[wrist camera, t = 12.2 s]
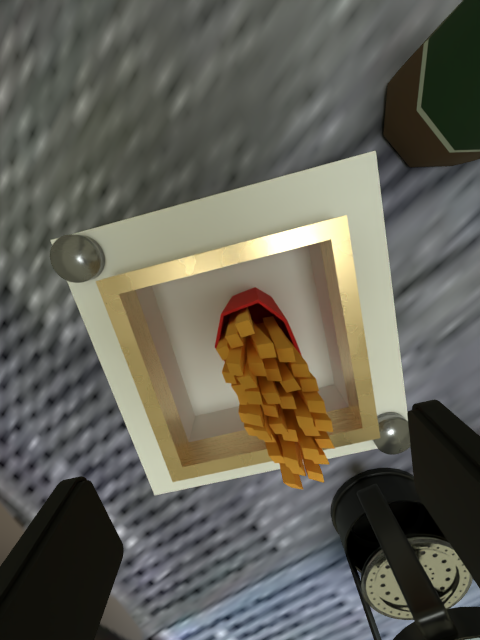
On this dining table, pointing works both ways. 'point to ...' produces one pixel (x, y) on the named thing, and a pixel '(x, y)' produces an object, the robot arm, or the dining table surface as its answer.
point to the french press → (403, 560)
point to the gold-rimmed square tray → (214, 294)
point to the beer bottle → (439, 95)
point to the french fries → (273, 385)
